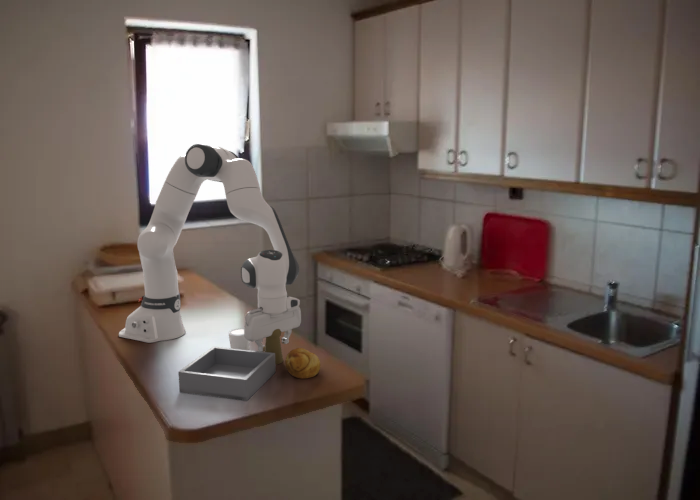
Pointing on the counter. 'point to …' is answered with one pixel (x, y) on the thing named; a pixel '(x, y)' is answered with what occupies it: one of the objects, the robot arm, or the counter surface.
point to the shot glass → (238, 340)
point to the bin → (227, 373)
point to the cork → (274, 346)
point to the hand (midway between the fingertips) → (273, 347)
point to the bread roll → (302, 363)
